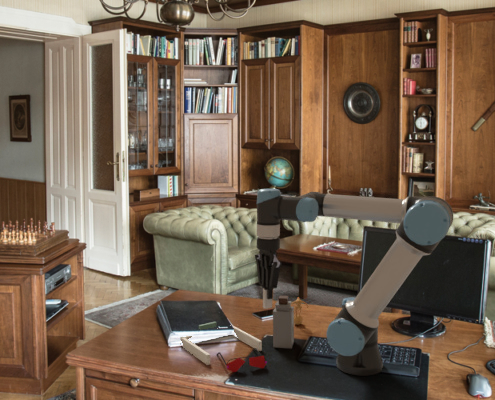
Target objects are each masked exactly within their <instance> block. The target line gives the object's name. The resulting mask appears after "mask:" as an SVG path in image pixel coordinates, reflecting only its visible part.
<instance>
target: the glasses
mask: <svg viewBox="0 0 495 400" xmlns="http://www.w3.org/2000/svg"><path fill="white" fill-rule="evenodd" d="M255 351H256V352H257V354H258V355H251V356H249V357H248V356H243V357H235V358H231V359H229V360H227V362H226V360H225V358H224V356H223V355H222V353H221V352H217V353H216V356H220V357H221V360H223V362H224V364H225V366H226V369H227V370H228V371H230V372H232V373H236V372H238V371H239V370H240V368H241V367H242V368H243V367H244V365H245V363H246V360H243V359H246V358H248V361H249V362H248V364H249V366H250V367H254V368H259V369H265V367H266V365H267V363H268V361H266V360H267V359H266V357H265V355H262V354H261V353H260V351H258V350H257V349H256V348H253V350H252V352H255Z"/></svg>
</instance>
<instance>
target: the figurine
mask: <svg viewBox="0 0 495 400" xmlns="http://www.w3.org/2000/svg"><path fill="white" fill-rule="evenodd" d="M293 304H295V306H294V325H297V326H298V325H301V324H303V320H304V319H303V317H302V315H301V313H302V308H303V306H302V305H301V304H305V305H306V307H307V309H309V305H308V303H307V302H305V301H303V300H301V298H300V297H299V296H298V297H297V298H296V300H294V301H292V302H291V305H293ZM297 310H299V311H297ZM298 313H299V314H298Z"/></svg>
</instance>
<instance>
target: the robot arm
mask: <svg viewBox="0 0 495 400" xmlns="http://www.w3.org/2000/svg"><path fill="white" fill-rule="evenodd" d="M318 217H325V218H326V217H327V218H328V217H329V218H337V219H349V220H357V221H358V220H360V221H371V222H381V223H392V224H399V225H398V227H397V229H396V230H395V234H396V238H395V240H394V242H393V243H392V245H391V246H390V247H389V249H388V251H386V254H385V255H384V256H383V258H382V259H381V261H380V262H379V264H378V265H377V266H376V268H375V269H374V271H373V273H372V274H371V275H370V276H369V278H368V279H367V281H366V282H365V283H364V285H363V287H362V288H361V290H360V291H359V292H358V294H357V295H356V296H354V297H353V296H351V297H345V298H343V299H342V301H341V303H342V304H341V308H340V309H341V310H340V311H339V312H338V314H337V315H336V316H335V318H334V319H333V321H331V322H330V323H329V325H328V326H327V330H326V340H327V342H328V345H329V347H331V349H332V350H333V351H334V352H336V353H337V356H336V364H337V365H336V368H337V369H338V370H340V371H341V372H343V373H345V374H349V375H353V376H358V377H359V376H364V377H365V376H366V377H367V376H374V375H377V374H380V373H381V372H382V371H383V369H382V368H384V361H383V358H382V356H381V355H382V354H381V351H380V348H379V345H378V344H379V342H378V341H379V340H378V339H379V325H380V322H379V317H380V315H382V313H383V311H384V310H385V309H386V307H387V306H388V305H389V303H390V301H391V300H392V299H393V298H394V296H395V294H396V293H397V292H398V290H400V288H401V286H402V285H403V284H404V282H405V281H406V279H407V278H408V277H409V275H410V274H411V273H412V271H413V270H414V268H415V267H416V266H417V264H418V263H419V262H420V260H421V259H422V258H423V257H424V256H429V255H431V254H432V253H433V252H434V250H435V249H436V248H437V246H438V245H439V244H440V242H441V241H442V240H443V239H444V238H445V237H446V236H447V234H448V232H449V230H450V228H451V227H452V224H453V221H454V211H453V209H452V206H451V205H450V204H449V203H448V202H447V201H446V200H445V199H443V198H441V197H437V196H407V197H406V198H404V199H402V198H391V197H389V198H388V197H387V198H386V197H375V196H359V195H358V196H357V195H347V194H346V195H344V194H332V193H321V192H318V191H309V192H307V193H305V194H302V195H301V194H300V195H299V196H284V195H282V193H281V190H280V189H277V188H261V189H259V190H258V191H257V197H256V236H257V237H256V249H257V250H259V251H258V254H255V255H254V259H255V263H256V270H257V279H258V285H261V287H262V308H263V309H265V310H267V309H271V308H273V297H274V295H273V294H274V291H273V290H274V289H277V288H278V282H279V277H280V271H281V267H282V265H283V262H282V261H281V260H279V259H278V253H277V251H278V250H279V249H280V247H281V238H280V236H281V233H280V232H281V229H280V228H281V221H294V222H301V223H306V222H307V223H310V222H311V223H313V222H315V221H316V219H317V218H318Z"/></svg>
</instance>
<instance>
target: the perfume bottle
mask: <svg viewBox="0 0 495 400" xmlns="http://www.w3.org/2000/svg"><path fill="white" fill-rule="evenodd" d="M292 302H293V301H292V300H289V295H279V296H278V300H276V302H275V303H274V305H275V306H274V309H273V310H272V344H273V345H272V347H273V348H277V349H278V348H279V349H293V345H294V344H295V343H294V342H295V323H294V316H295V306H292V304H291V303H292Z"/></svg>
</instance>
